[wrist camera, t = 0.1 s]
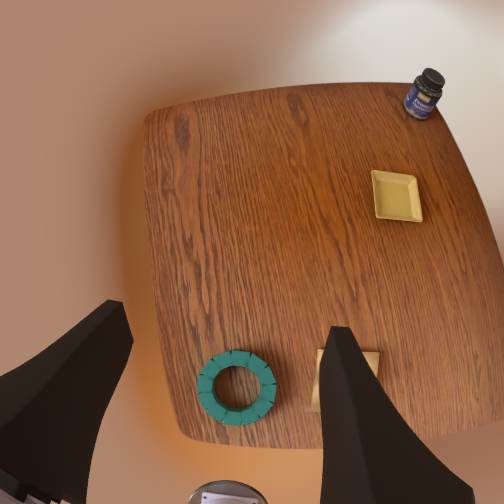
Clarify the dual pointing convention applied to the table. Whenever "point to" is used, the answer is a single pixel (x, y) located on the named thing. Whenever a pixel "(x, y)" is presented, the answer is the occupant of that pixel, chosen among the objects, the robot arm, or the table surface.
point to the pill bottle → (424, 94)
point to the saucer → (396, 196)
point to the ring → (220, 409)
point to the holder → (315, 403)
